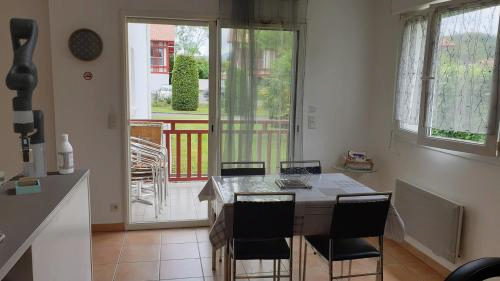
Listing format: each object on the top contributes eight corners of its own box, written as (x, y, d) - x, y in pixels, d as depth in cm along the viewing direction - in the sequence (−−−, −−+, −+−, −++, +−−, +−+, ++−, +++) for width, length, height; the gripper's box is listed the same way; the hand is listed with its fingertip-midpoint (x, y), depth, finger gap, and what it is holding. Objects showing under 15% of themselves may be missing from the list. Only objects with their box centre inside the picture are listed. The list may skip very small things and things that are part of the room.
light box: (19, 161, 166) (18, 149, 165) (32, 160, 168) (31, 148, 167) (19, 163, 161) (18, 151, 161) (33, 162, 164) (32, 150, 163)
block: (20, 189, 168) (19, 177, 167) (35, 187, 171) (34, 176, 170) (20, 192, 163) (19, 181, 162) (36, 190, 166) (35, 179, 165)
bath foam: (56, 173, 199) (54, 134, 196) (68, 170, 205) (66, 133, 201) (64, 174, 195) (62, 136, 192) (76, 172, 201) (74, 134, 198)
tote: (16, 189, 169) (15, 181, 169) (39, 186, 174) (38, 179, 173) (16, 196, 160) (15, 188, 159) (40, 193, 165) (40, 185, 164)
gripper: (12, 119, 166) (15, 158, 169) (13, 123, 154) (16, 164, 157) (32, 119, 170) (35, 157, 173) (34, 122, 158) (37, 163, 161)
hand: (26, 160), depth 165 cm, fingers closed on light box, 5 cm apart
